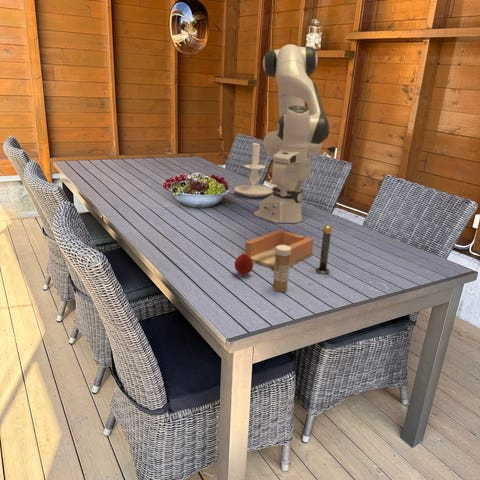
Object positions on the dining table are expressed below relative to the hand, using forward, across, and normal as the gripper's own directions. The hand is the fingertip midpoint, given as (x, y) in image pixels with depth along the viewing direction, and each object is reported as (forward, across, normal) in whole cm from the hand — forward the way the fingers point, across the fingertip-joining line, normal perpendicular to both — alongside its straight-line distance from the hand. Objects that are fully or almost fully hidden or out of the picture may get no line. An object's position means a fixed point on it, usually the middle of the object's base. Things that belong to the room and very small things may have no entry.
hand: (290, 193), depth 163 cm
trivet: (+21, +9, +2) cm, 23 cm away
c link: (+20, +9, +3) cm, 22 cm away
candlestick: (+22, -57, -56) cm, 83 cm away
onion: (+21, +31, +4) cm, 37 cm away
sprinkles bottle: (+21, +30, +18) cm, 41 cm away
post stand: (+21, +10, +20) cm, 31 cm away
